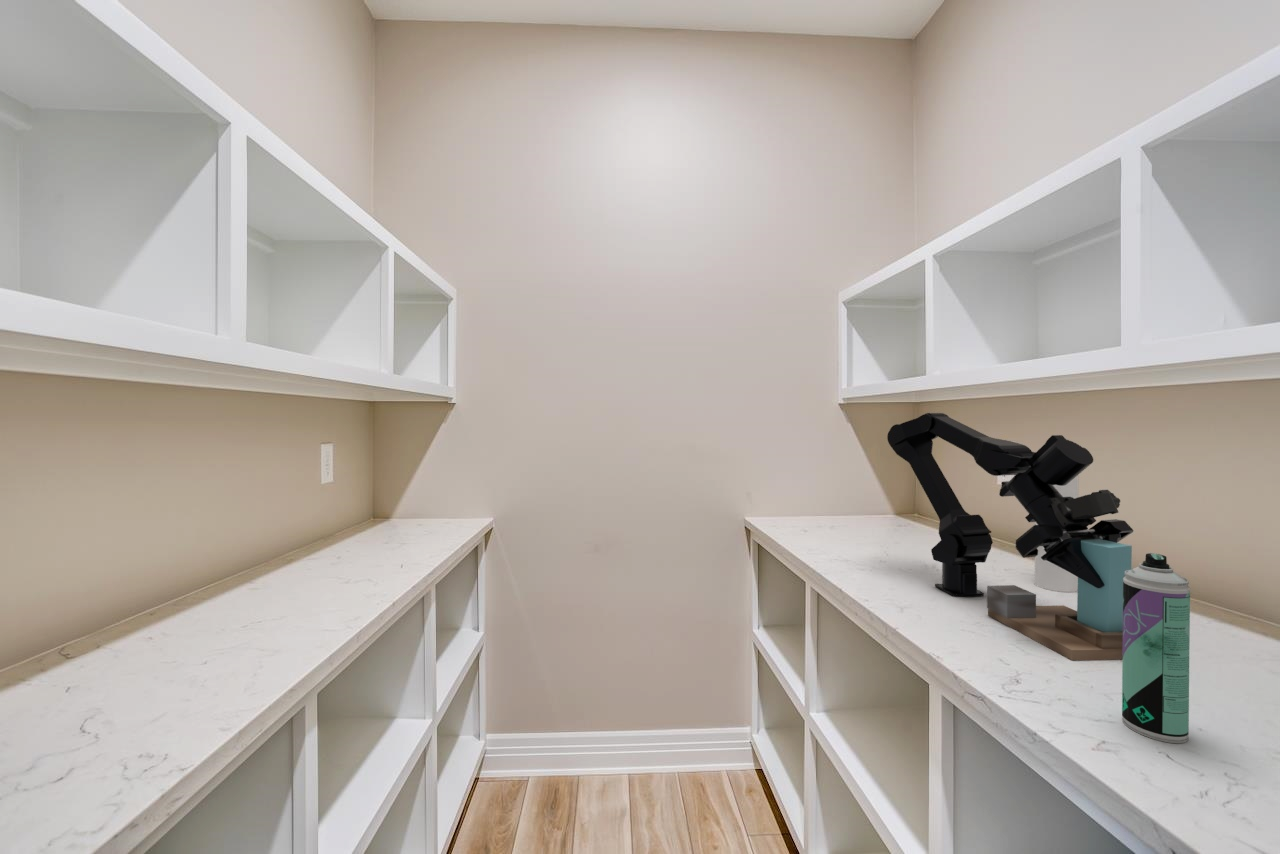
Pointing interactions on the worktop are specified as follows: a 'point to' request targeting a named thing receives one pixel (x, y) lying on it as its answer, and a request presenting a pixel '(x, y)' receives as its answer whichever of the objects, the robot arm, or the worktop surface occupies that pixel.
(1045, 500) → the robot arm
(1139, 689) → the spray can
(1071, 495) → the cylindrical container
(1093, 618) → the teal column
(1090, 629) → the walnut base board
